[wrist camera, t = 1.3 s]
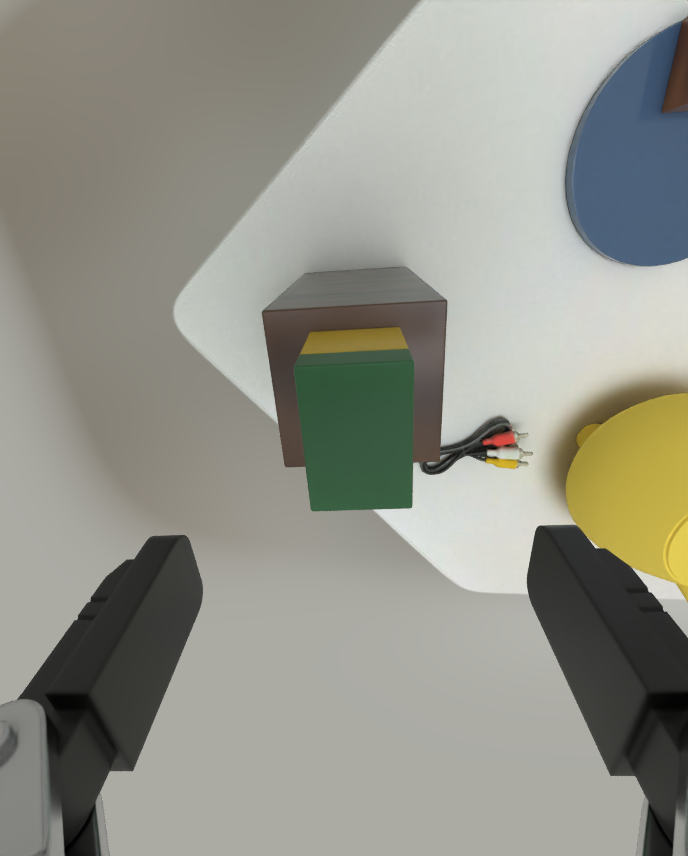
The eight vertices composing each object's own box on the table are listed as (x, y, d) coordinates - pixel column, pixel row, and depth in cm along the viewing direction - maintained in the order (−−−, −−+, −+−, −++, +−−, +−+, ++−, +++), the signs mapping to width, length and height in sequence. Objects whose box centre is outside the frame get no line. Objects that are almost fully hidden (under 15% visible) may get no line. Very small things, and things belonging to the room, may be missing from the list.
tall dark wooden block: (304, 272, 32) (261, 310, 18) (406, 266, 31) (447, 299, 17) (314, 370, 35) (284, 468, 21) (406, 365, 35) (440, 462, 21)
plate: (587, 29, 25) (595, 22, 24) (828, 6, 24) (846, -2, 23) (550, 270, 31) (555, 272, 30) (741, 258, 30) (753, 260, 30)
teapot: (723, 528, 42) (877, 654, 29) (567, 566, 45) (647, 696, 32) (726, 350, 33) (939, 422, 21) (534, 411, 36) (624, 506, 24)
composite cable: (421, 473, 40) (424, 488, 38) (414, 431, 38) (417, 443, 36) (524, 456, 39) (534, 470, 36) (523, 411, 37) (533, 423, 34)
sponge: (309, 331, 18) (292, 366, 13) (400, 326, 18) (414, 360, 13) (321, 449, 21) (310, 512, 16) (400, 446, 20) (412, 509, 16)
